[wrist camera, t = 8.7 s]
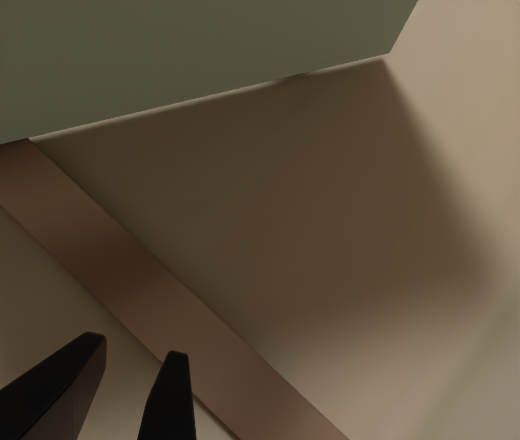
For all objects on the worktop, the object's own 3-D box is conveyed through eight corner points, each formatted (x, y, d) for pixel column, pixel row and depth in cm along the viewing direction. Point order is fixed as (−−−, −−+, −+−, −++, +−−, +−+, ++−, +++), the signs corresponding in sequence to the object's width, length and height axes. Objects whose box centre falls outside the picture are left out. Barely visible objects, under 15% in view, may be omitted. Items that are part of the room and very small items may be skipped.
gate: (-44, 159, 17) (-365, -49, 8) (-49, 121, 17) (-361, -120, 8) (391, 57, 19) (533, -198, 10) (377, 24, 19) (502, -249, 10)
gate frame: (568, 211, 18) (1034, 33, 8) (336, 530, 15) (591, 1005, 4) (178, -95, 21) (123, -535, 10) (-90, 114, 18) (-571, -221, 7)
